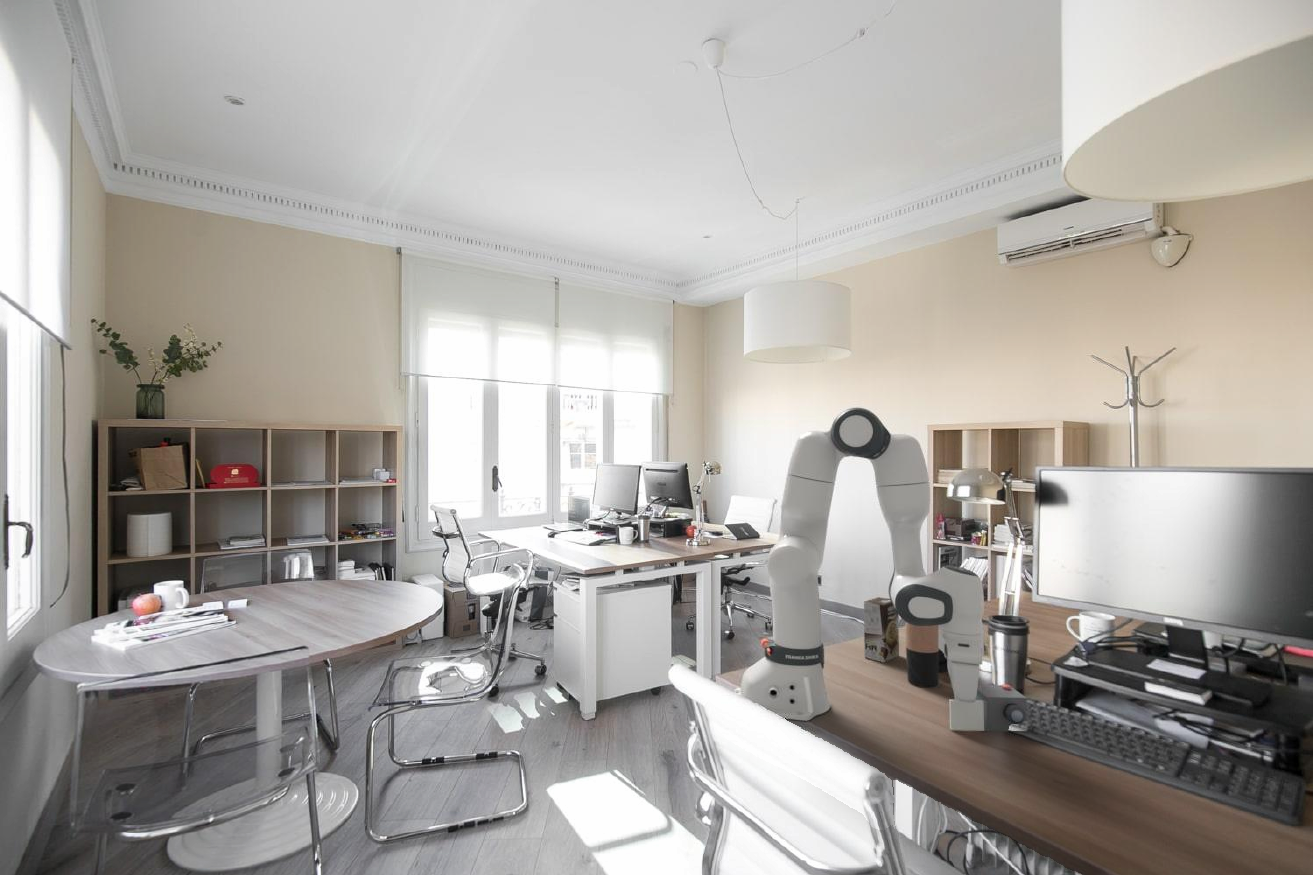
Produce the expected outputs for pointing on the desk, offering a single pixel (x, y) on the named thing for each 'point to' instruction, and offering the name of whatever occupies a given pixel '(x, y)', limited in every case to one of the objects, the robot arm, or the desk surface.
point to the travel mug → (922, 655)
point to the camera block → (1002, 706)
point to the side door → (968, 715)
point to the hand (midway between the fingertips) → (960, 707)
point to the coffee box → (881, 630)
